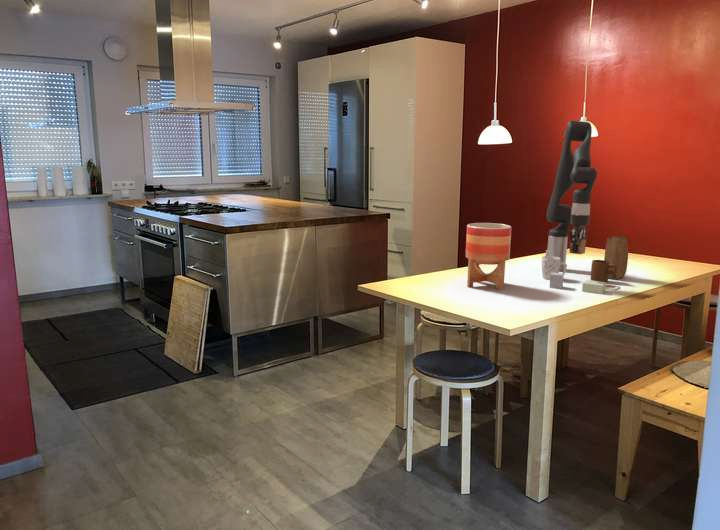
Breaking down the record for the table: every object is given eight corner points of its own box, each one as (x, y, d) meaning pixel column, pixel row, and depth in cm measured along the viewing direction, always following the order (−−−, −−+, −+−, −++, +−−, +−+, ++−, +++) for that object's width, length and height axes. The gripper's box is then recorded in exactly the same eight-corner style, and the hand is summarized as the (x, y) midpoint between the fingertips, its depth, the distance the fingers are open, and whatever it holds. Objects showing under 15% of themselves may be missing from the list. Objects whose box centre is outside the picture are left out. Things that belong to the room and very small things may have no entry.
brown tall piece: (614, 280, 271) (618, 238, 267) (600, 277, 277) (604, 236, 273) (628, 278, 277) (632, 236, 273) (614, 275, 283) (618, 234, 279)
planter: (482, 292, 245) (486, 229, 240) (454, 282, 262) (456, 223, 257) (518, 287, 254) (522, 227, 249) (488, 278, 271) (491, 221, 266)
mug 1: (566, 278, 274) (568, 257, 272) (564, 281, 267) (566, 260, 265) (541, 275, 279) (543, 255, 277) (539, 279, 271) (540, 258, 270)
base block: (581, 292, 248) (582, 283, 247) (586, 288, 255) (586, 279, 254) (601, 294, 244) (602, 285, 243) (605, 291, 250) (606, 282, 250)
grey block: (549, 287, 255) (550, 274, 253) (551, 285, 259) (552, 272, 258) (561, 289, 253) (562, 275, 251) (562, 286, 257) (563, 273, 256)
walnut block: (569, 252, 255) (570, 239, 254) (573, 251, 258) (574, 238, 257) (580, 254, 251) (581, 240, 250) (584, 252, 255) (586, 239, 254)
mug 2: (620, 283, 265) (622, 263, 264) (611, 285, 261) (613, 264, 259) (595, 278, 275) (597, 259, 273) (587, 280, 270) (588, 260, 268)
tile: (598, 287, 255) (598, 285, 255) (603, 285, 260) (603, 283, 260) (614, 290, 251) (615, 288, 251) (619, 287, 256) (620, 285, 256)
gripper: (577, 211, 259) (574, 249, 263) (565, 214, 249) (562, 252, 252) (594, 213, 255) (591, 251, 258) (583, 215, 244) (579, 255, 247)
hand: (577, 251), depth 255 cm, fingers closed on walnut block, 5 cm apart
